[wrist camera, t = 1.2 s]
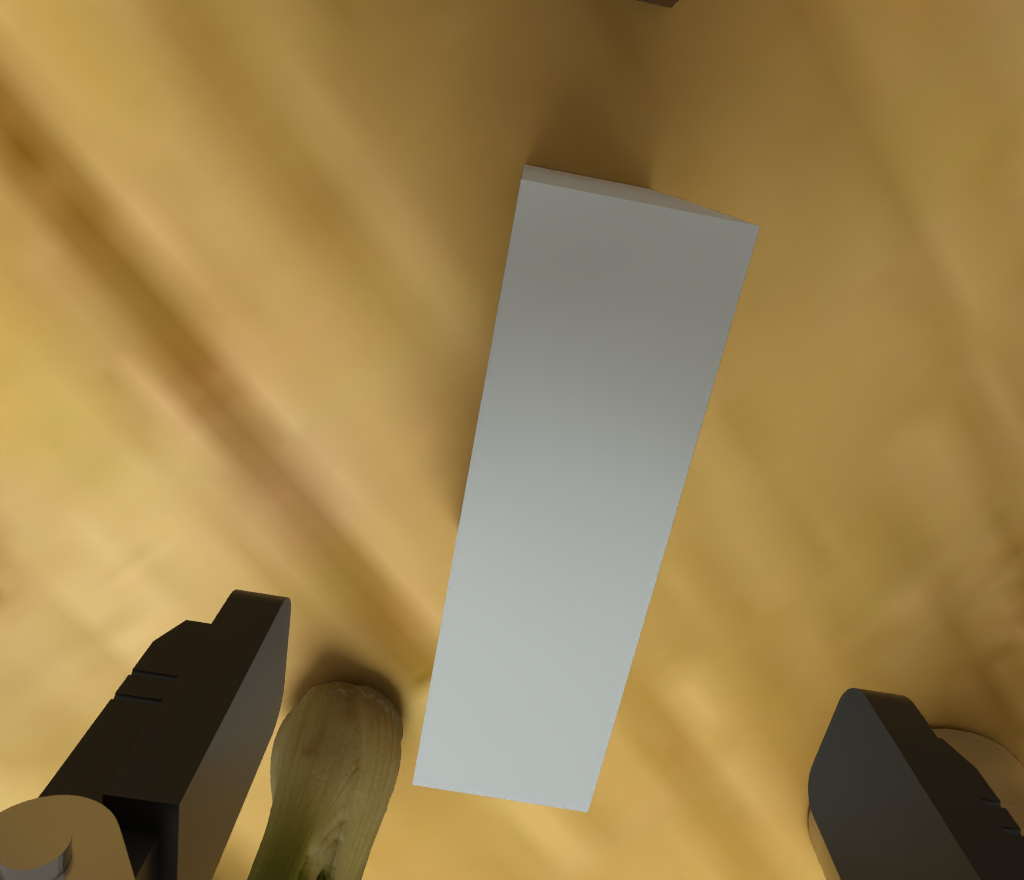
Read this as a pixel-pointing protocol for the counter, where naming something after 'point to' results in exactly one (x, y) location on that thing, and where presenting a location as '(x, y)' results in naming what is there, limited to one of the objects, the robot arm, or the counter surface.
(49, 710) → the counter surface
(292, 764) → the fennel bulb
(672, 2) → the walnut stand
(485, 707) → the plain gray rectangular block
